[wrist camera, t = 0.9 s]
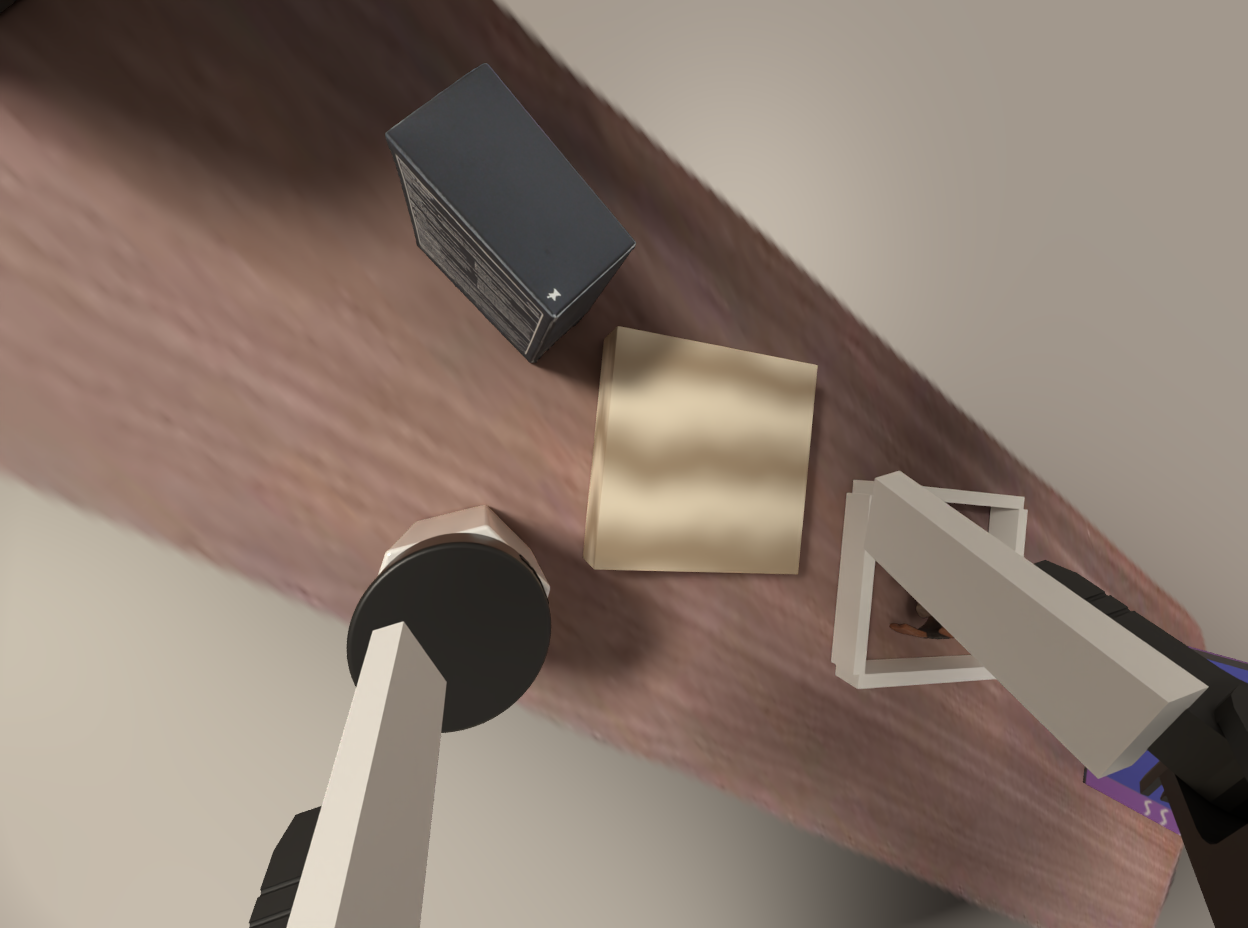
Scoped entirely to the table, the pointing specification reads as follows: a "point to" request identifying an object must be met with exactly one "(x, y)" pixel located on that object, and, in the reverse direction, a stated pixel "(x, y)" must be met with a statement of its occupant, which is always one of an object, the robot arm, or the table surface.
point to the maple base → (698, 457)
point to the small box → (505, 211)
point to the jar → (462, 610)
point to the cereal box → (1127, 780)
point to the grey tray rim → (858, 589)
